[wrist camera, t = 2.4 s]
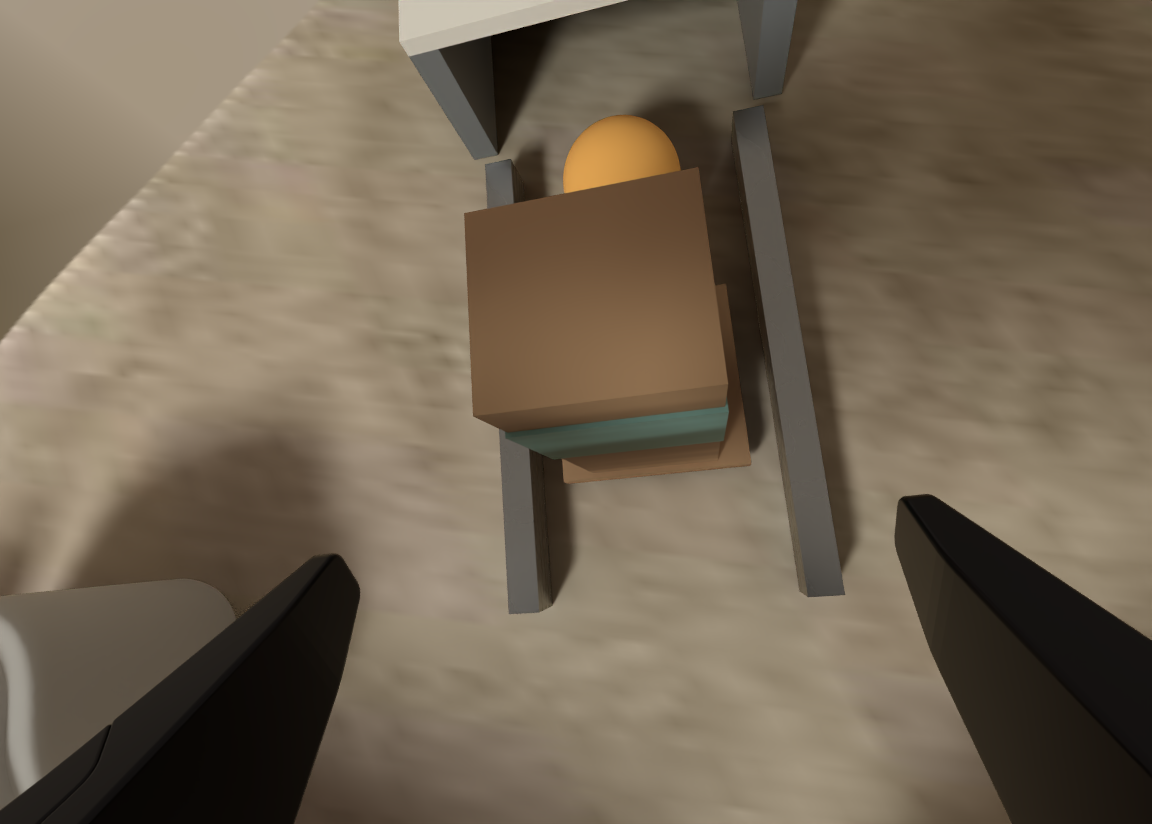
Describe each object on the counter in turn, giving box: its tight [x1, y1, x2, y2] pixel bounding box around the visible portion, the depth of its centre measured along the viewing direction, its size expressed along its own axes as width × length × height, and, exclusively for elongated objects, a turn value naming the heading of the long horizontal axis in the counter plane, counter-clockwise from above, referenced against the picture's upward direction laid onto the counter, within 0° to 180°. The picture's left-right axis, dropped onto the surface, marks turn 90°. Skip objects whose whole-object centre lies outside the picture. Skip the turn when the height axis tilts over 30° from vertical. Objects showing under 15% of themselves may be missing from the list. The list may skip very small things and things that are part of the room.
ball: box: [563, 115, 681, 193], centre depth 20 cm, size 4×4×4 cm
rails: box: [485, 105, 845, 614], centre depth 20 cm, size 16×10×2 cm, turn 4°
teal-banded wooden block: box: [464, 167, 751, 484], centre depth 15 cm, size 8×6×11 cm
